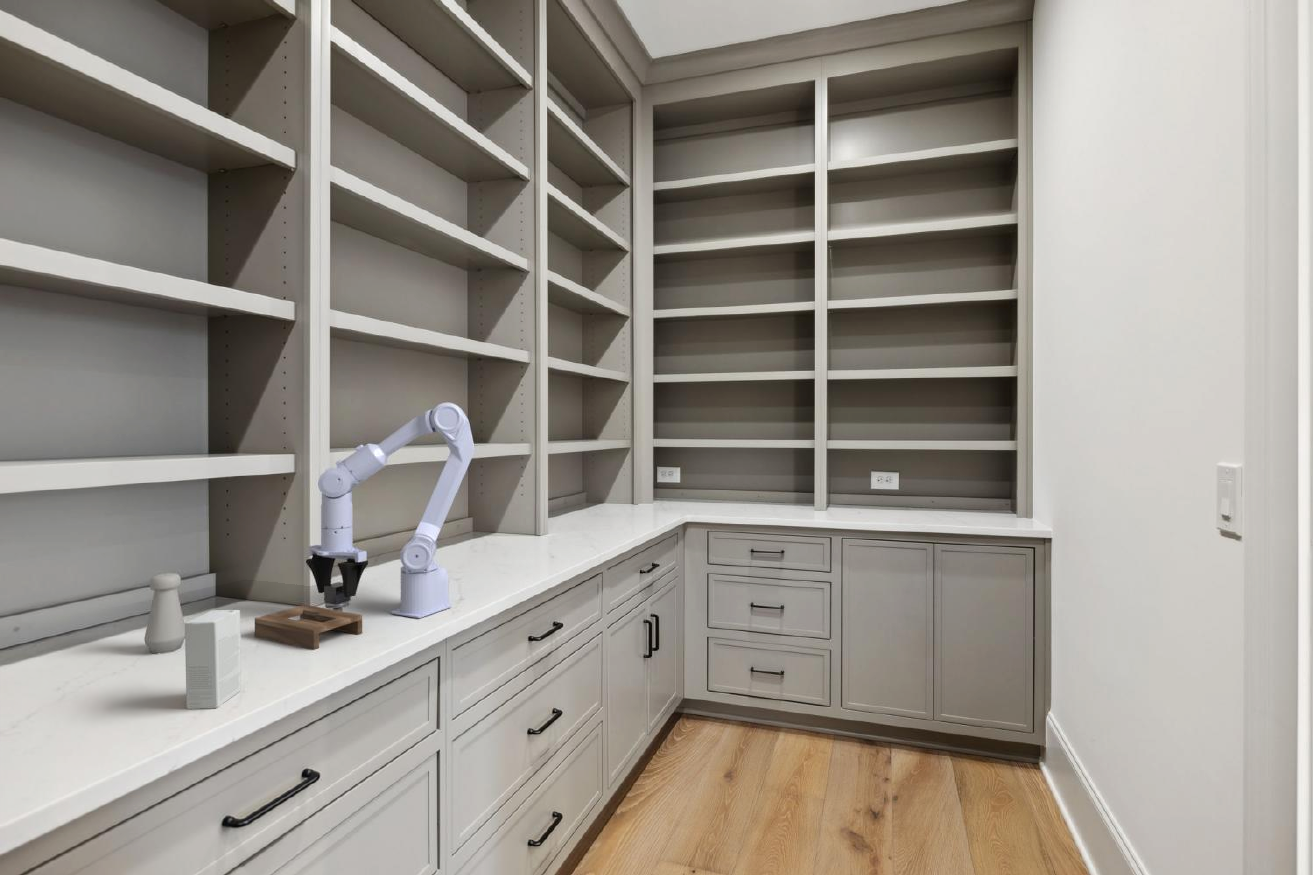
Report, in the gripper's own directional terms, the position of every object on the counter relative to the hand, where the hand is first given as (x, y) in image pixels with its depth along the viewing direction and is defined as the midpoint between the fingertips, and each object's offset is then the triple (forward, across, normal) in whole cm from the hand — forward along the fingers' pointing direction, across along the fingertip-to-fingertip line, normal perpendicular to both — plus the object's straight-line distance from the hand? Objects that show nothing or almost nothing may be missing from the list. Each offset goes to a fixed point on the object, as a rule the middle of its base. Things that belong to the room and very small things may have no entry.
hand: (336, 594), depth 131 cm
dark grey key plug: (+5, 0, 0) cm, 5 cm away
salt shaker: (+5, -10, -26) cm, 28 cm away
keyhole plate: (+5, +6, -10) cm, 13 cm away
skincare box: (+5, +19, -35) cm, 40 cm away
